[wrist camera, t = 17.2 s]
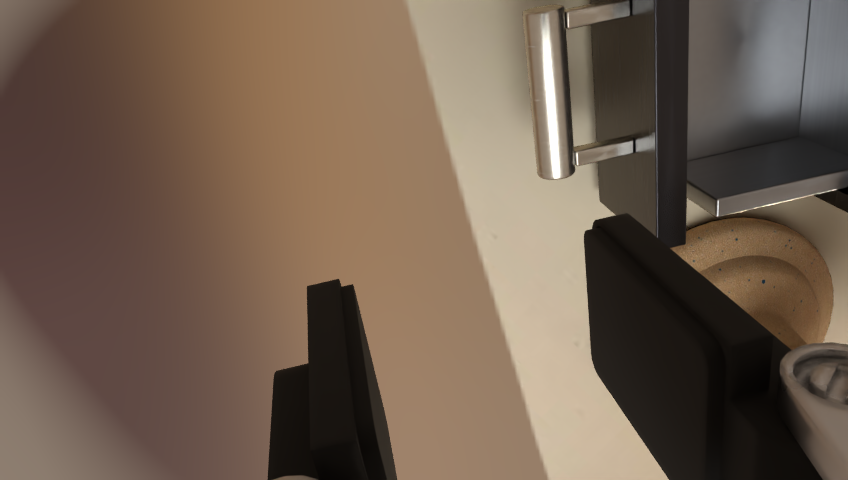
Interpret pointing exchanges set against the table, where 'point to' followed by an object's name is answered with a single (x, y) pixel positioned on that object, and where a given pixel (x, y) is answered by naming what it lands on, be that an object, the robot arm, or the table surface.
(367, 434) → the robot arm
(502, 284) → the table surface
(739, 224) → the candle holder
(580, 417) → the table surface
